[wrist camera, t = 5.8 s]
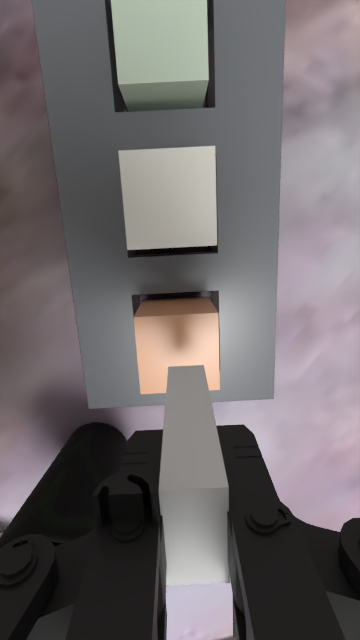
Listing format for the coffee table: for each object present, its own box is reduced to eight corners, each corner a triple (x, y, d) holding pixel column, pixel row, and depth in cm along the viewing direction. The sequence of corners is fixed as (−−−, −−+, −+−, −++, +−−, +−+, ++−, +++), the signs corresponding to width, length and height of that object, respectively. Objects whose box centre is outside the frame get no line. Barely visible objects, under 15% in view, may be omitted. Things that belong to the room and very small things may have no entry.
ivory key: (138, 247, 21) (127, 250, 16) (131, 172, 20) (118, 150, 15) (207, 244, 21) (217, 245, 16) (205, 168, 20) (215, 145, 15)
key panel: (100, 384, 27) (88, 409, 23) (51, -9, 20) (21, -69, 16) (259, 376, 27) (273, 398, 23) (265, -19, 20) (287, -81, 16)
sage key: (130, 120, 21) (118, 84, 16) (124, 36, 20) (108, -30, 15) (200, 116, 21) (208, 79, 16) (198, 32, 20) (206, -35, 15)
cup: (85, 396, 27) (19, 513, 16) (155, 440, 29) (142, 577, 17) (41, 457, 29) (-48, 604, 17) (110, 495, 30) (70, 657, 18)
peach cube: (147, 362, 23) (140, 394, 19) (142, 300, 22) (133, 317, 17) (210, 358, 23) (219, 389, 19) (208, 296, 22) (218, 312, 17)
